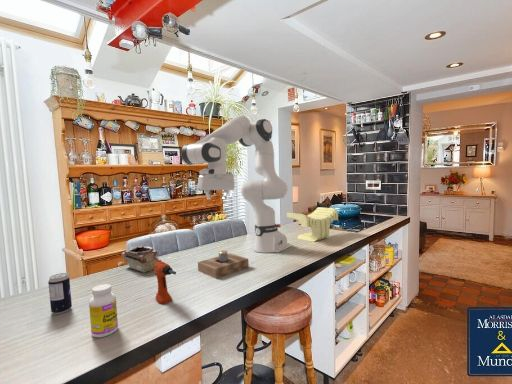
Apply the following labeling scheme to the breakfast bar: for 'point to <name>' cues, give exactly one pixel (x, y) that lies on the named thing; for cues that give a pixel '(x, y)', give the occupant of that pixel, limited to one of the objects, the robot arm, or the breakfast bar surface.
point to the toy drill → (162, 281)
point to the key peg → (223, 256)
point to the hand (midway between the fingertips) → (216, 199)
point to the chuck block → (222, 266)
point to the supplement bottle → (103, 311)
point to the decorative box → (141, 258)
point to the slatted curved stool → (316, 223)
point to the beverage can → (60, 293)
